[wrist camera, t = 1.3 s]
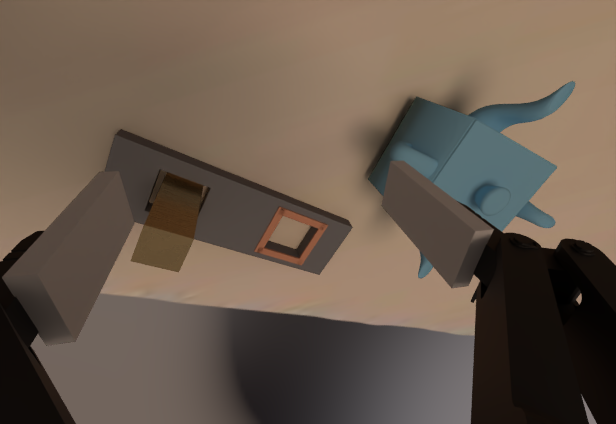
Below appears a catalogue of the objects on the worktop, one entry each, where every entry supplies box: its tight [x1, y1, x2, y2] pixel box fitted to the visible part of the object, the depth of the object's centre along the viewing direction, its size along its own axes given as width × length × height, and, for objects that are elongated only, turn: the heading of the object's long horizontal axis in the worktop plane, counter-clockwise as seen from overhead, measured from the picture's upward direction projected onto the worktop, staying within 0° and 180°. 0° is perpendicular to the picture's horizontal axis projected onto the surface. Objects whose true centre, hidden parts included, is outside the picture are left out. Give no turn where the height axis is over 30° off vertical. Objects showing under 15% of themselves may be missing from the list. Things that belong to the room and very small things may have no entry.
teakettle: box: [368, 81, 575, 278], centre depth 37 cm, size 19×19×15 cm
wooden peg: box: [131, 172, 203, 272], centre depth 33 cm, size 4×4×12 cm
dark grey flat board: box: [105, 129, 353, 275], centre depth 40 cm, size 32×10×2 cm, turn 60°
